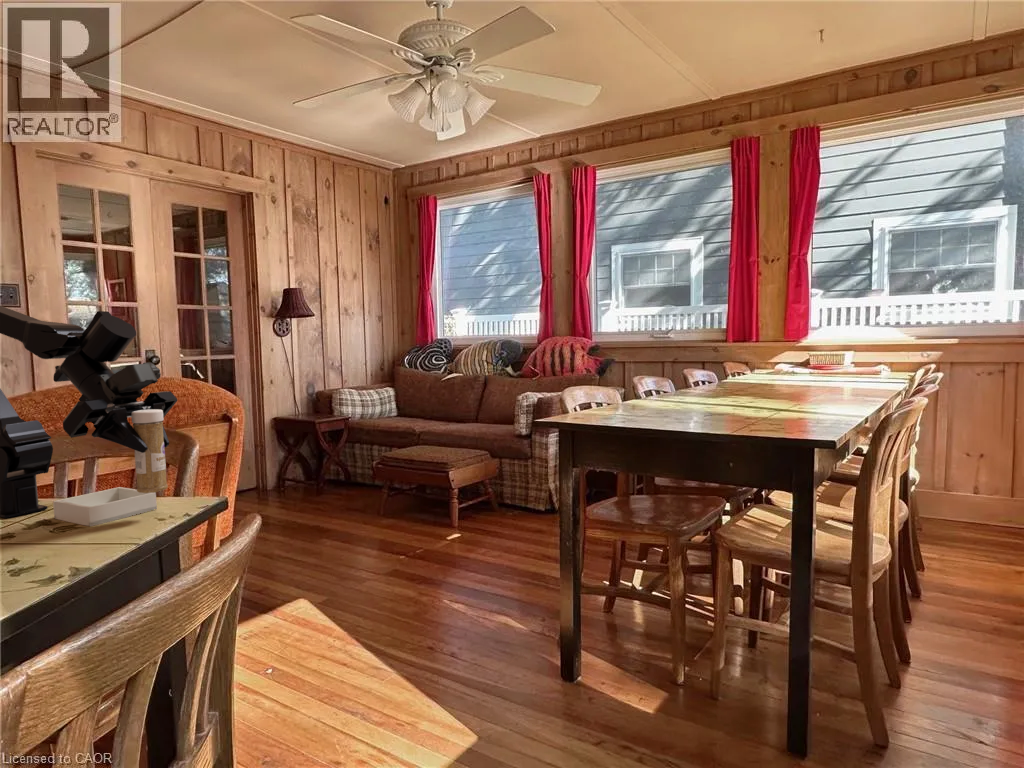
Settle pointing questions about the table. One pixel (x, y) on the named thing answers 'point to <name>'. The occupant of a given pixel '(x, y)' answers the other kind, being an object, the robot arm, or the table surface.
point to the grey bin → (104, 506)
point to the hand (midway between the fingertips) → (156, 448)
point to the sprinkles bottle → (150, 451)
